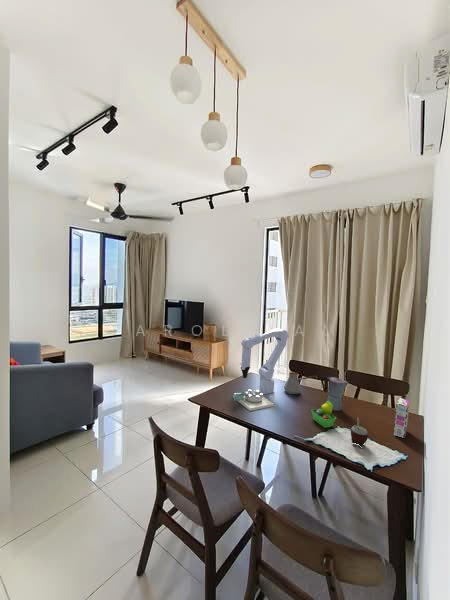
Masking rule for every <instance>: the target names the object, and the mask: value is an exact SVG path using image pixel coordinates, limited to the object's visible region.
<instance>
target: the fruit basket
mask: <svg viewBox="0 0 450 600" xmlns="http://www.w3.org/2000/svg"><path fill="white" fill-rule="evenodd" d="M332 407H333V406H332V404H331V402H329V401H327V400H326V402H325V403H323V404H322V405H321V407H320V408H314V409H311V413H312V414H311V415H312V419H313V420H314V421H315V422H316V423H317V424H319V425H320V426H322V427H323V428H324V429H325V428H331V427H333V425H334V423H335V421H336V420H337V417H336V416H334V415H333V414H332V412H333V410H332Z"/></svg>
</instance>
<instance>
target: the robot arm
mask: <svg viewBox="0 0 450 600" xmlns="http://www.w3.org/2000/svg"><path fill="white" fill-rule="evenodd" d="M273 337H274V339H276V343H277V344H276V345H275V347H274V348H273V351H272V353H271V354H270V356H269V358H268V359H267V362H266V363H264V364H262V366H261V367H260V368H259V369H258V375H259V387H258V388H257V389H256V390H258V391H259V393H263V395H266V394H267V395H268V394H274V393H275V380H274V379H273V377H274V372H275V368H274V367H275V365H276V364H277V362H278V360H279V358H280V357H281V355H282V353H283V351H284V350H285V348H286V346H287V341H288V338H289V333H288V331H287V330H286V329H282V328H279V327H275V328H272V329H271V330H269V331H266V332H265V333H262V334H261V335H260V334H254V335H252V336H249V337H248V338H247V337H246V338H243V339H242V341H241V346H242V351H241V362H239V365H240V371H241V372H242V378H243V379H247V378H248V373H249V371H250V369H251V360H252V359H251V358H252V357H251V356H252V348H254V346H257V345H259V344H261V343H262V342H263V341H264V340H267V339H270V338H273Z"/></svg>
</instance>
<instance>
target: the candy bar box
mask: <svg viewBox="0 0 450 600" xmlns="http://www.w3.org/2000/svg"><path fill="white" fill-rule="evenodd" d="M410 402H411V401H410V400H409V399H405V398H401V397H398V399H397V401H396V405H395V406H396V407H395V415H394V424H393V436H394V437H396V436H398V437H397V438H399V437H402V438H405V439H406V435H407V430H408V423H409V411H410ZM402 438H401V439H402Z"/></svg>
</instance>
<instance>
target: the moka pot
mask: <svg viewBox="0 0 450 600" xmlns="http://www.w3.org/2000/svg"><path fill="white" fill-rule="evenodd" d="M324 381H327V382H328V390H326V388H325V382H324ZM320 382H321V385H322V386H321V387H322V390H323V391H322V392H324V393H326V394H327V393H328V396H327V399H326V402H327V401H329V402H331V404H332V406H333V407H332V411H333V412H334V411H336V412H340V411H342V400H343V398H342V397H343V394H344V391H345V389H346V388H347V385H349V384H350V383H349V381H347V380H344V379H343V378H340V375H336V377H327V376H324V377H323V378H322V379H320Z"/></svg>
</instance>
